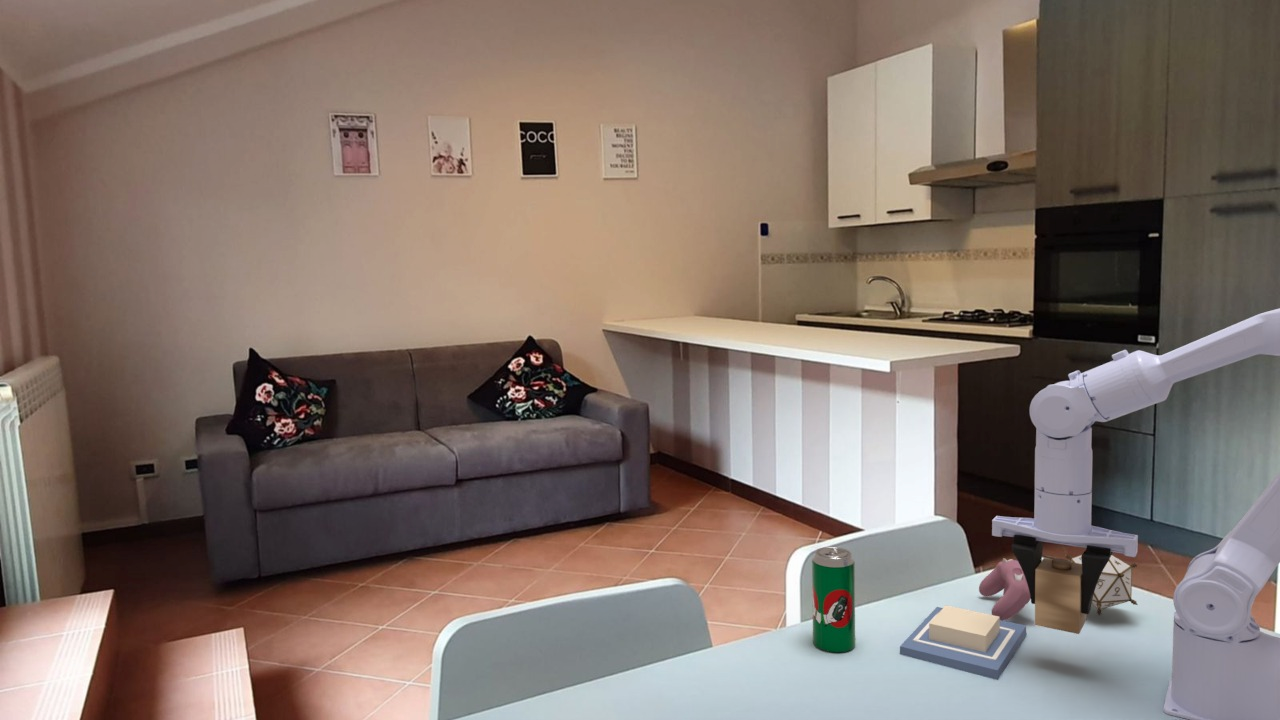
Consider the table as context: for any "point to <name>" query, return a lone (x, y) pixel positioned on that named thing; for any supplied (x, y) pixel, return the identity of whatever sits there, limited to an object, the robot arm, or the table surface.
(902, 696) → the table surface
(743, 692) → the table surface
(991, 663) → the blueprint board
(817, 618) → the soda can
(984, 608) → the table surface
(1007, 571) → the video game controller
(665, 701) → the table surface
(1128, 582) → the game die
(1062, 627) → the oak block
